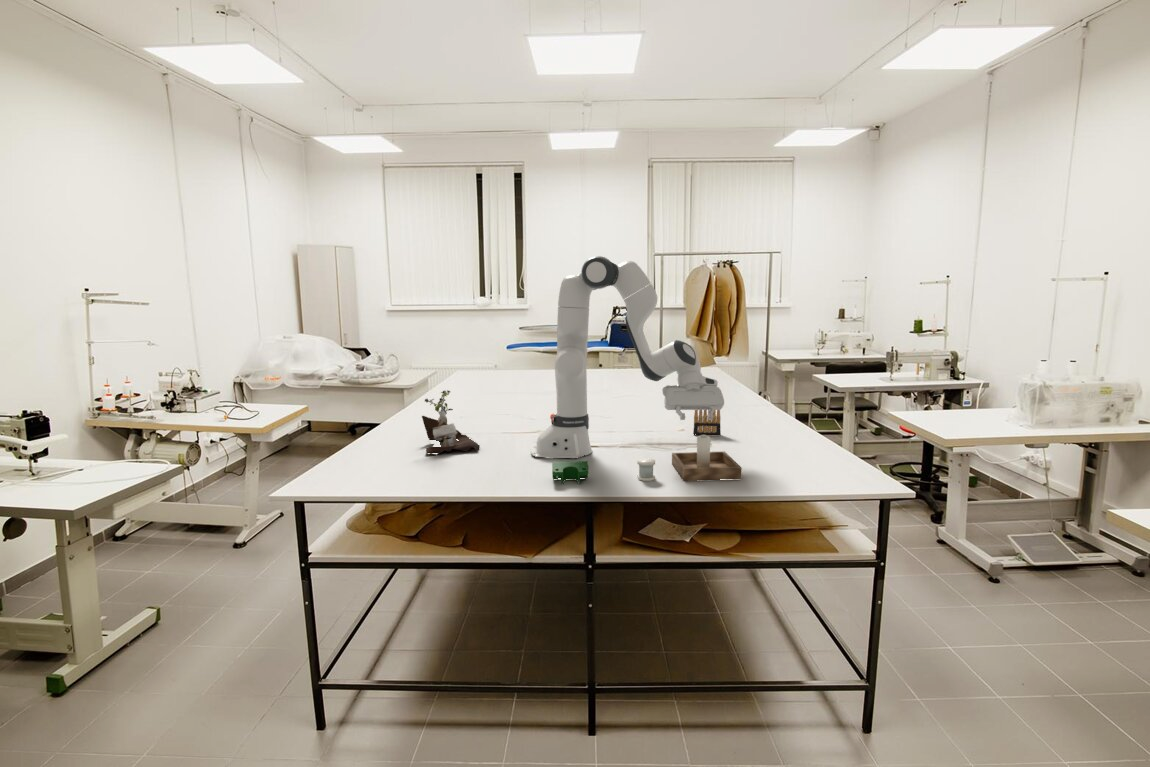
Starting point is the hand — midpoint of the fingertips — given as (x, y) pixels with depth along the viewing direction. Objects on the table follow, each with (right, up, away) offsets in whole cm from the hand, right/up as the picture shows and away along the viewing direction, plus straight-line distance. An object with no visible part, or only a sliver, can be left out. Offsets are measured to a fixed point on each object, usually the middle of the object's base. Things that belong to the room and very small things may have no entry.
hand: (696, 419), depth 199 cm
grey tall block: (+1, -15, -6) cm, 16 cm away
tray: (+1, -17, -8) cm, 18 cm away
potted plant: (-88, -13, +27) cm, 93 cm away
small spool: (-19, -18, -13) cm, 29 cm away
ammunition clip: (+12, -9, +39) cm, 42 cm away
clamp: (-43, -19, -15) cm, 49 cm away
